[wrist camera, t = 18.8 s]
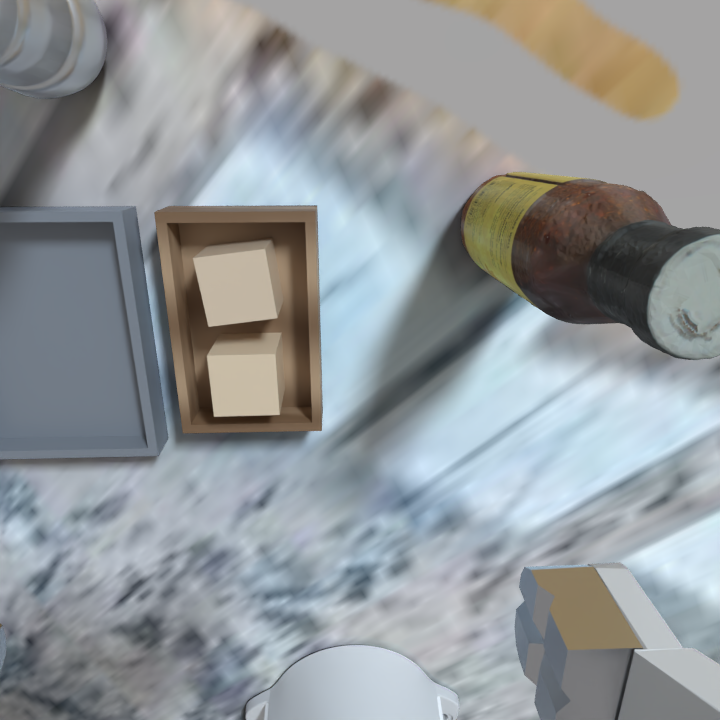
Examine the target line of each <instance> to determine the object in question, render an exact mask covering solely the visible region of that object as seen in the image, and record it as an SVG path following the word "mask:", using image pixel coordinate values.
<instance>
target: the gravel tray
mask: <svg viewBox="0 0 720 720" xmlns="http://www.w3.org/2000/svg"><path fill="white" fill-rule="evenodd" d="M167 440H168V433H167V426H166V419H165V412H164V404H163V397H162V390H161V383H160V376H159V369H158V362H157V354H156V347H155V340H154V333H153V326H152V319H151V312H150V304H149V297H148V290H147V283H146V276H145V269H144V262H143V254H142V247H141V240H140V233H139V226H138V219H137V212H136V206H115V207H0V459H39V458H87V457H135V456H159V454H160V452H161V450H162V449H163V447H164V445H165V443H166V442H167Z"/></svg>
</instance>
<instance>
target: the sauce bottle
mask: <svg viewBox="0 0 720 720" xmlns="http://www.w3.org/2000/svg"><path fill="white" fill-rule="evenodd" d="M461 236H462V242H463V245H464V247H465V249H466V251H467V252H468V253H469V254H470V256H471V258H472V259H473V261H474V262H475V263H476V264H477V265H478V266H479V267H480V268H481V269H483V270H484V271H485V272H487V273H488V274H490V275H491V276H492V277H494V278H495V279H497V280H498V281H500V282H501V283H503V284H504V285H505V286H506V287H508V288H509V289H510V290H512V291H513V292H515V293H517V294H518V295H519V296H521V297H523V298H524V299H526V300H527V301H528V302H530V303H531V304H532V305H534V306H535V307H537V308H539V309H540V310H542V311H543V312H545V313H546V314H548V315H550V316H552V317H554V318H556V319H558V320H561V321H564V322H568V323H574V324H605V323H622V324H625V325H627V326H629V327H630V328H632V330H633V332H634V333H635V334H636V335H637V336H638V337H639V338H640V339H641V340H642V341H643V342H645V343H647V344H648V345H650V346H651V347H653V348H656V349H658V350H660V351H662V352H663V353H667V354H669V355H671V356H673V357H675V358H680V359H688V360H699V359H710V358H714V357H716V356H719V355H720V230H719V229H714V228H710V227H694V228H689V229H682V228H677V227H675V226H672V225H671V224H670V222H669V220H668V219H667V217H666V215H665V214H664V211H663V209H662V208H661V206H660V205H659V204H658V203H657V202H656V201H655V200H653V199H652V198H651V197H650V196H649V195H647V194H646V193H645V192H644V191H638V190H635V189H633V188H631V187H628V186H624V185H617V184H608V183H606V182H603V181H600V180H594V179H587V178H577V177H567V176H556V175H546V174H536V173H526V172H512V173H507V174H506V175H498V176H495V177H492V178H491V179H489V180H487V181H486V182H484V183H483V184H482V185H480V186H479V187H478V188H477V189H476V190H475V192H474V193H473V194H472V196H471V197H470V198H469V200H468V202H467V203H466V204H465V207H464V209H463V212H462V218H461Z"/></svg>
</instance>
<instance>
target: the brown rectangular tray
mask: <svg viewBox="0 0 720 720" xmlns="http://www.w3.org/2000/svg"><path fill="white" fill-rule="evenodd" d="M154 213H155V221H156V229H157V237H158V244H159V252H160V260H161V268H162V276H163V283H164V291H165V299H166V307H167V314H168V322H169V330H170V338H171V345H172V353H173V361H174V369H175V376H176V384H177V392H178V400H179V407H180V415H181V423H182V431H183V433H228V432H280V431H322V413H323V406H322V369H321V332H320V295H319V258H318V221H317V206H168V207H166V208H163V209H161V210H158V211H156V212H154ZM271 237H273V242H274V248H275V254H276V260H277V265H278V271H279V277H280V283H281V288H282V294H283V303H282V306H281V309H280V312H279V315H278V318H275V319H268V320H260V321H252V322H244V323H236V324H228V325H220V326H212V327H208V322H207V318H206V313H205V309H204V305H203V300H202V296H201V292H200V287H199V283H198V278H197V274H196V270H195V265H194V261H193V258H194V257H195V256H196V255H197V254H198V253H200V252H201V251H202V250H203V249H205V248H206V247H207V246H208V245H216V244H224V243H232V242H240V241H247V240H255V239H263V238H271ZM238 333H282V349H283V364H284V380H285V391H284V396H283V401H282V406H281V411H280V415H260V416H223V417H214V412H213V404H212V395H211V387H210V378H209V369H208V361H207V355H208V353H209V351H210V350H211V348H212V346H213V345H214V343H215V341H216V340H217V338H218V336H219V335H220V334H238Z"/></svg>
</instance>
